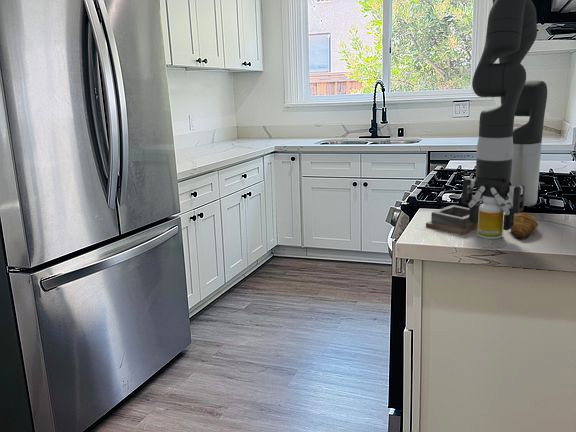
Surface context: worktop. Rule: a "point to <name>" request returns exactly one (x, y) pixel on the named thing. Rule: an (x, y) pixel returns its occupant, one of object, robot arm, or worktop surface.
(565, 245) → the worktop surface
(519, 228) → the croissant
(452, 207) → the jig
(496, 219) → the supplement bottle
